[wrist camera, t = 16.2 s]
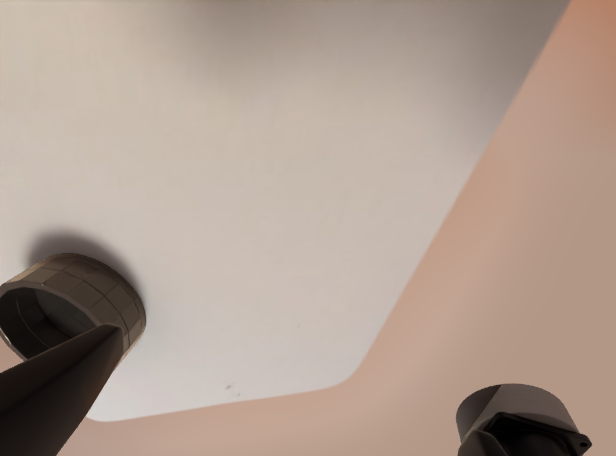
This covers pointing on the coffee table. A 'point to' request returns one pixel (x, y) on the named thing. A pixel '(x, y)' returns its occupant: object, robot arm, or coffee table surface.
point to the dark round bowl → (66, 304)
